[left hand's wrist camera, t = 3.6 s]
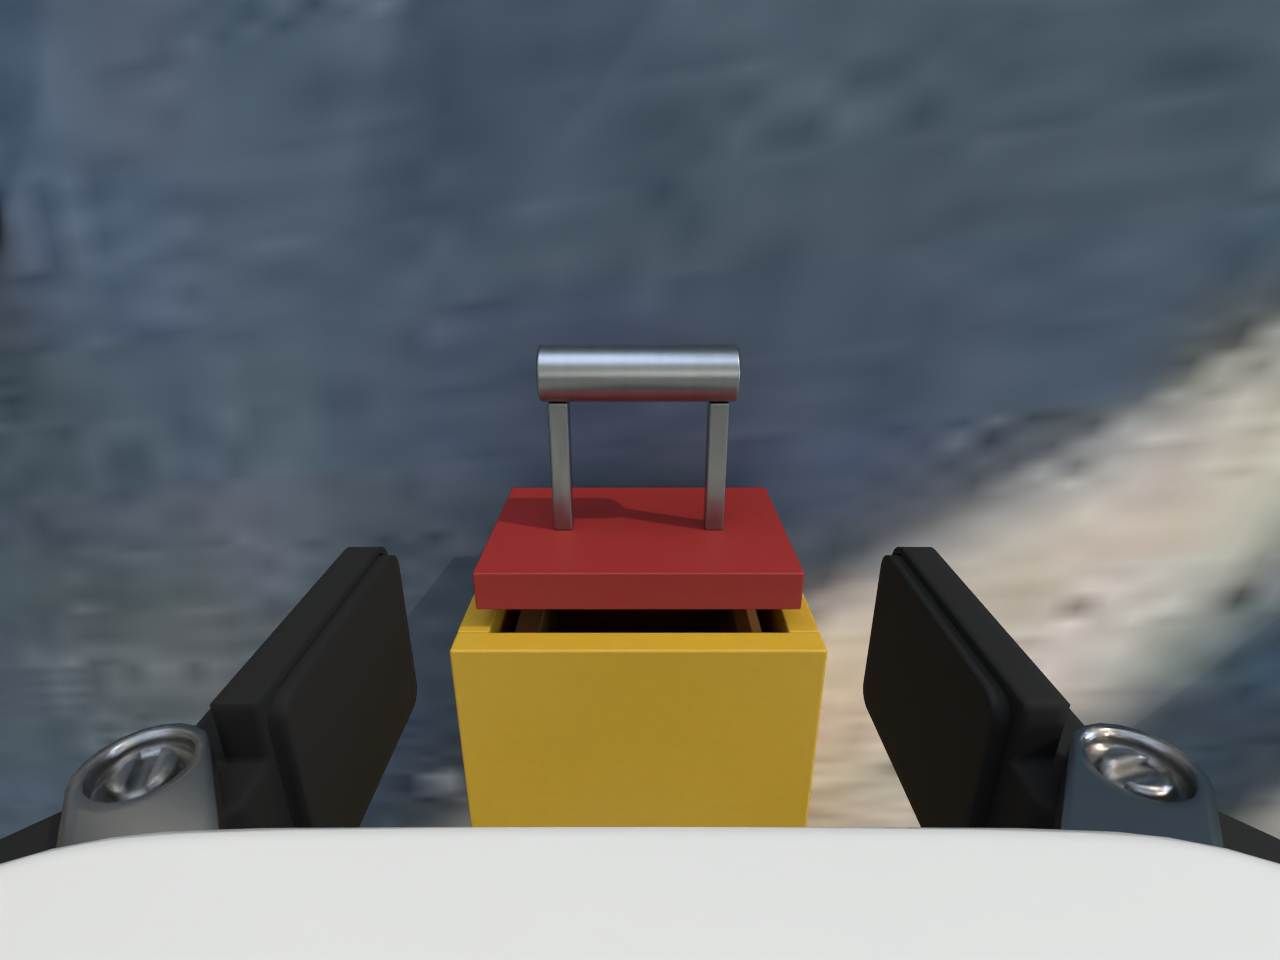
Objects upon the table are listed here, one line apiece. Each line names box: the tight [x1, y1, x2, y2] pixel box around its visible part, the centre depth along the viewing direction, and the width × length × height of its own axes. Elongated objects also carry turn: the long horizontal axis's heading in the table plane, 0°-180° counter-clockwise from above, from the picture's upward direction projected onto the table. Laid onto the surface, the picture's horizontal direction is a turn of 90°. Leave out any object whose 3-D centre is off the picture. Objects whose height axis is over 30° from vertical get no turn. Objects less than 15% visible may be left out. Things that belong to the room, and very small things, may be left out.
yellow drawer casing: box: [450, 593, 827, 827], centre depth 26 cm, size 19×11×8 cm, turn 0°
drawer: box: [473, 345, 804, 633], centre depth 24 cm, size 23×9×6 cm, turn 0°
